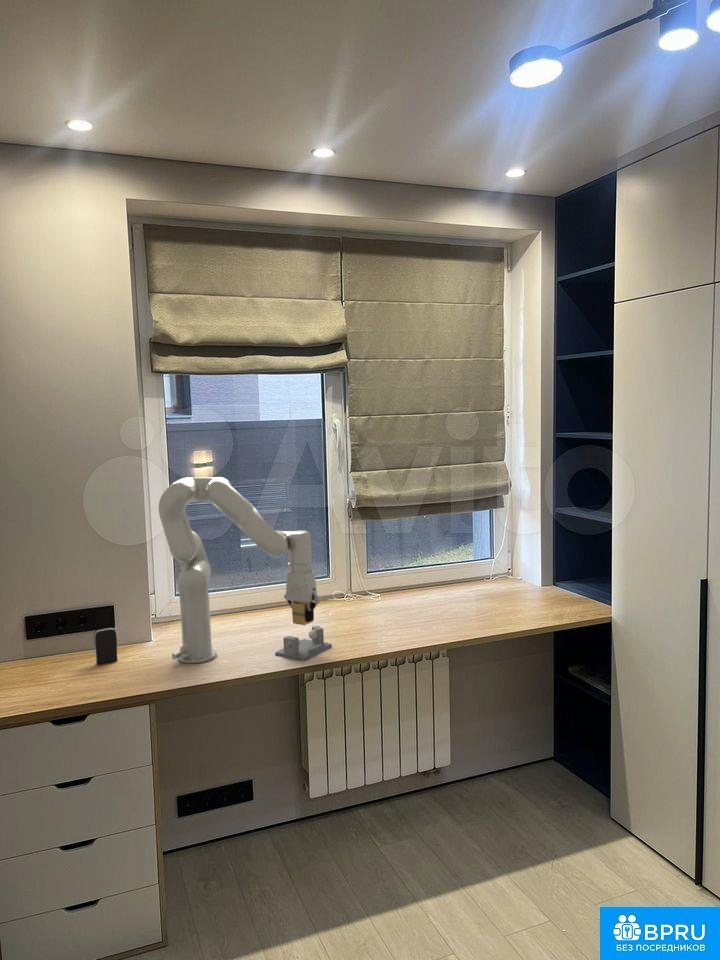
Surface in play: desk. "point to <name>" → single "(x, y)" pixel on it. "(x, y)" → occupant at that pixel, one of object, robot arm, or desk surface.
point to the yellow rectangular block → (299, 613)
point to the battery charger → (105, 646)
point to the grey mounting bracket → (304, 645)
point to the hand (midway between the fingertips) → (303, 619)
